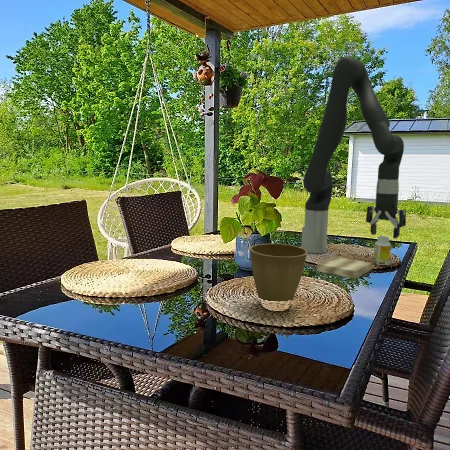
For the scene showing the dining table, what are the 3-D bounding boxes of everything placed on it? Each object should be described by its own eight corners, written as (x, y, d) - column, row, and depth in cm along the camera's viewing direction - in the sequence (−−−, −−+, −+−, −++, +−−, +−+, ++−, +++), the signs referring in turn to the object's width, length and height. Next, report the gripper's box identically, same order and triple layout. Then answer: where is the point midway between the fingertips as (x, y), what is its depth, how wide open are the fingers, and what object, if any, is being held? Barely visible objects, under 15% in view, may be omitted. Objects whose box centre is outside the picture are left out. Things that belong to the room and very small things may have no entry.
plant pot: (267, 321, 114) (270, 258, 111) (238, 302, 127) (239, 245, 124) (315, 312, 121) (319, 252, 118) (283, 295, 134) (285, 241, 131)
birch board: (316, 271, 159) (316, 263, 159) (333, 263, 170) (334, 256, 169) (355, 278, 151) (355, 271, 150) (371, 269, 162) (371, 263, 161)
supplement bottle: (392, 264, 169) (394, 237, 167) (383, 267, 165) (386, 239, 164) (378, 261, 173) (380, 235, 171) (370, 263, 170) (372, 236, 168)
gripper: (363, 191, 167) (361, 234, 170) (401, 194, 157) (397, 240, 160) (374, 189, 172) (372, 232, 175) (411, 192, 162) (408, 237, 165)
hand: (384, 236), depth 167 cm, fingers open, 8 cm apart
